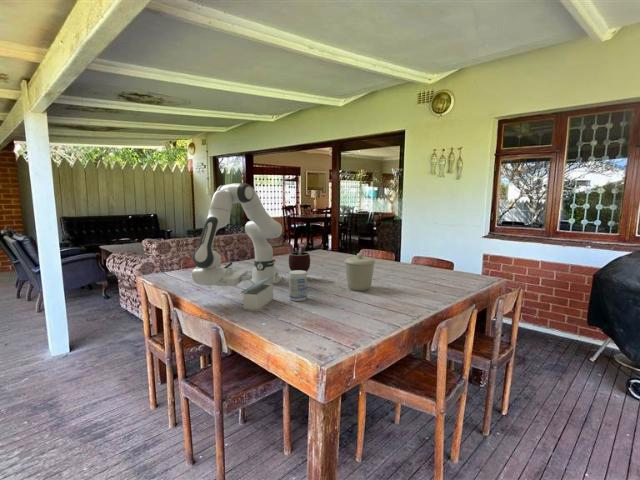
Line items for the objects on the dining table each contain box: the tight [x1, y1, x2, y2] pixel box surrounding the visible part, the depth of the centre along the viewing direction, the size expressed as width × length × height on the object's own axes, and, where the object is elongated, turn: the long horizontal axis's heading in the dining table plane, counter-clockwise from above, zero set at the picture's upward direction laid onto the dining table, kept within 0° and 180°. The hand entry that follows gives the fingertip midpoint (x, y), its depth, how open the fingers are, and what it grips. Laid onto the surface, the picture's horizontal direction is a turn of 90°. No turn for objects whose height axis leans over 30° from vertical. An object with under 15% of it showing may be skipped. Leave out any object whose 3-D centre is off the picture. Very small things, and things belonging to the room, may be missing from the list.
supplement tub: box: [288, 270, 308, 302], centre depth 191 cm, size 10×10×15 cm
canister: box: [343, 252, 376, 292], centre depth 211 cm, size 18×18×21 cm
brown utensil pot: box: [288, 246, 311, 282], centre depth 233 cm, size 16×14×20 cm
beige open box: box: [242, 284, 274, 312], centre depth 182 cm, size 20×7×8 cm, turn 164°
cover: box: [240, 277, 272, 295], centre depth 181 cm, size 20×9×1 cm, turn 165°
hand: (251, 277), depth 181 cm, fingers closed
